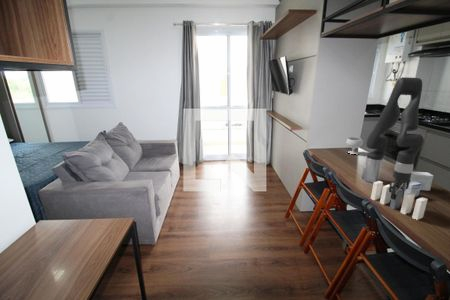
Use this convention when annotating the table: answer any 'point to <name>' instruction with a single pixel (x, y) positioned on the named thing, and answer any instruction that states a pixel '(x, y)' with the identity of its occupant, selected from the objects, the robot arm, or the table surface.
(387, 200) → the domino
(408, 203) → the domino
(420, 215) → the domino
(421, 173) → the skincare box
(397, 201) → the domino
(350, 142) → the chalice
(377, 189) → the domino
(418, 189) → the medicine box
